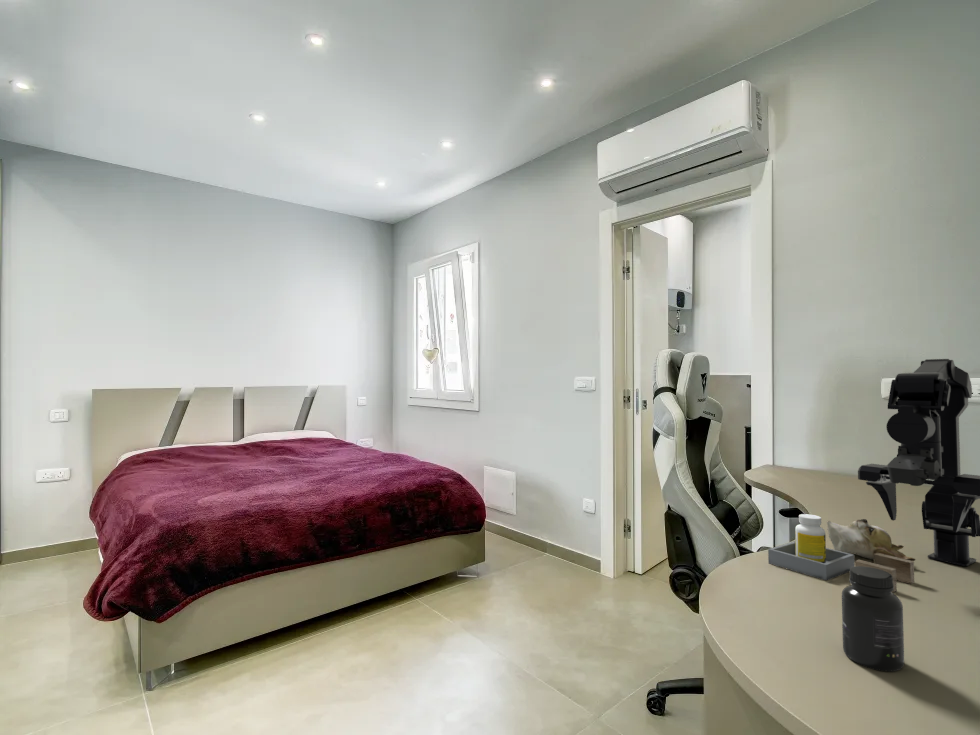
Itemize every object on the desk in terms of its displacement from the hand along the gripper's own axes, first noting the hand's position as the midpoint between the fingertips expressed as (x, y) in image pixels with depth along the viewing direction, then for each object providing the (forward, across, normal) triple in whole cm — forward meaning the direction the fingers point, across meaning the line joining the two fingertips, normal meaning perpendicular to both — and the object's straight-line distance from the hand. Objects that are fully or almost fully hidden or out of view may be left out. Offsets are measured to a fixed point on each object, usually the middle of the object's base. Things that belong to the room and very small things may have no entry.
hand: (923, 525), depth 94 cm
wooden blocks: (+12, -6, -1) cm, 13 cm away
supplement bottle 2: (+12, +6, -35) cm, 38 cm away
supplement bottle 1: (+12, -18, -4) cm, 22 cm away
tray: (+12, -18, -4) cm, 22 cm away
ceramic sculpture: (+12, -14, +13) cm, 23 cm away
